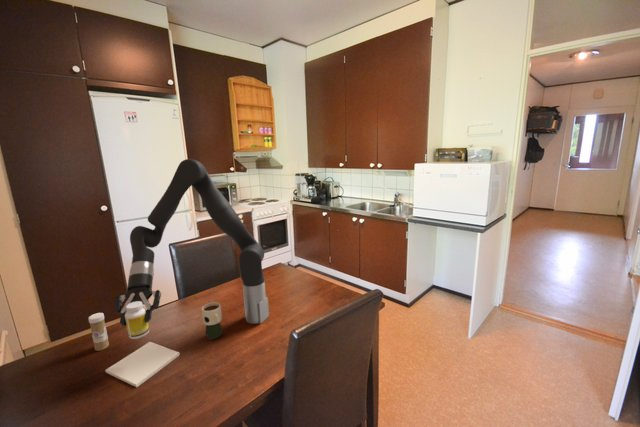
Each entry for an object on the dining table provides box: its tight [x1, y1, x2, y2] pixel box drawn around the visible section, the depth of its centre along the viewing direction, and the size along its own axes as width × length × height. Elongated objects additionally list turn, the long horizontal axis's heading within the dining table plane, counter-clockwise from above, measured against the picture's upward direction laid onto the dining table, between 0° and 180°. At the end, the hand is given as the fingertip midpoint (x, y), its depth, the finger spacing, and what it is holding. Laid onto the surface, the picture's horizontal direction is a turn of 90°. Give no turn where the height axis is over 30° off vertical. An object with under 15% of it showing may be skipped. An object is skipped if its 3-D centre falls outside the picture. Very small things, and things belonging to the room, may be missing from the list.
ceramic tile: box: [105, 341, 180, 388], centre depth 101 cm, size 16×16×1 cm
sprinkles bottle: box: [88, 312, 110, 351], centre depth 109 cm, size 5×5×14 cm
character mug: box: [201, 301, 223, 341], centre depth 114 cm, size 11×7×13 cm, turn 44°
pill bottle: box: [125, 301, 150, 340], centre depth 97 cm, size 6×6×11 cm
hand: (135, 323), depth 96 cm, fingers closed on pill bottle, 6 cm apart
